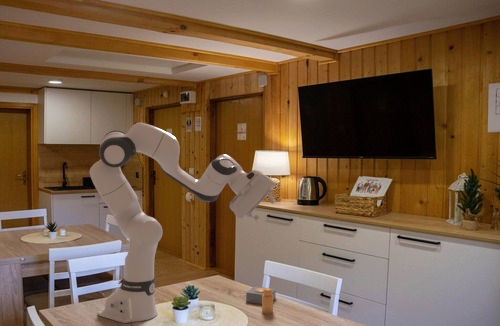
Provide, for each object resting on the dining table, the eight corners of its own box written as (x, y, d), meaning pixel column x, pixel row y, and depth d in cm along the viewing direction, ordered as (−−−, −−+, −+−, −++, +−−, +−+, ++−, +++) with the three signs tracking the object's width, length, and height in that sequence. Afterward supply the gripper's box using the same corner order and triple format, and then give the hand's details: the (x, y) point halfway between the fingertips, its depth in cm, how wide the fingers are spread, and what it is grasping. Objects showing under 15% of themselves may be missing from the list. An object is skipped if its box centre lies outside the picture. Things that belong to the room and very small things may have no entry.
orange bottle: (260, 312, 177) (261, 290, 177) (263, 309, 181) (264, 287, 181) (271, 314, 176) (271, 291, 175) (274, 310, 180) (274, 288, 180)
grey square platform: (246, 301, 190) (246, 292, 190) (253, 295, 199) (254, 285, 199) (268, 305, 187) (268, 295, 186) (275, 298, 196) (275, 288, 196)
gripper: (223, 204, 176) (244, 230, 171) (257, 167, 172) (280, 191, 166) (231, 205, 182) (252, 230, 176) (263, 169, 178) (286, 193, 172)
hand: (265, 211), depth 171 cm, fingers open, 8 cm apart
